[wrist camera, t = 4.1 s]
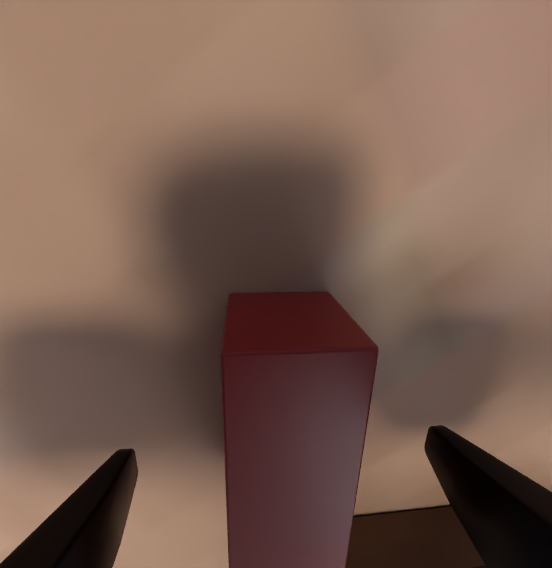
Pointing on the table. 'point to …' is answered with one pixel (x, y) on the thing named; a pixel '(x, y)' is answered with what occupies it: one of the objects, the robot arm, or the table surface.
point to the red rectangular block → (293, 427)
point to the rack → (411, 541)
